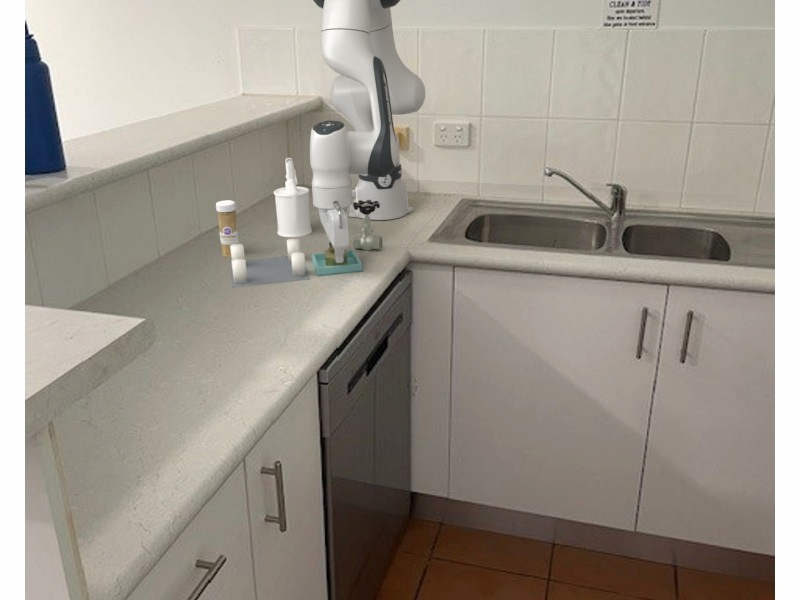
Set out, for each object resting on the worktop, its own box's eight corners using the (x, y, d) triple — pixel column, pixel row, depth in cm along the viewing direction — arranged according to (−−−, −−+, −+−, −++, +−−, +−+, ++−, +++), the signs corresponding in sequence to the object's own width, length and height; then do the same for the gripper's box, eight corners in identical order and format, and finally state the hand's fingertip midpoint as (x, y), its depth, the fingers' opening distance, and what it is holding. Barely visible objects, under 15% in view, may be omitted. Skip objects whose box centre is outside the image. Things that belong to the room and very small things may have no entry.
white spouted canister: (275, 229, 196) (268, 156, 188) (309, 226, 198) (303, 153, 190) (280, 241, 187) (273, 164, 179) (315, 237, 189) (310, 161, 181)
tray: (312, 262, 171) (311, 254, 171) (354, 258, 174) (353, 249, 173) (317, 277, 162) (317, 268, 161) (362, 272, 164) (361, 264, 164)
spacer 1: (232, 264, 170) (230, 244, 169) (245, 263, 171) (243, 243, 169) (232, 268, 168) (230, 248, 166) (245, 267, 168) (243, 246, 166)
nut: (324, 263, 169) (323, 248, 168) (345, 260, 170) (344, 246, 169) (327, 269, 165) (326, 254, 164) (348, 267, 166) (348, 252, 165)
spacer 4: (291, 273, 164) (290, 252, 162) (305, 271, 165) (303, 251, 163) (293, 277, 162) (291, 256, 160) (306, 276, 162) (305, 255, 160)
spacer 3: (287, 258, 173) (285, 238, 171) (300, 257, 174) (298, 237, 172) (288, 262, 171) (287, 242, 169) (301, 261, 171) (300, 241, 169)
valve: (378, 255, 175) (376, 207, 171) (351, 254, 177) (349, 206, 172) (384, 246, 181) (382, 200, 177) (358, 245, 183) (356, 199, 178)
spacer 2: (233, 279, 161) (231, 258, 159) (247, 278, 162) (245, 257, 160) (234, 284, 158) (231, 263, 156) (248, 283, 159) (245, 262, 157)
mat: (230, 262, 172) (230, 261, 172) (301, 255, 176) (301, 254, 176) (232, 288, 157) (232, 287, 157) (310, 280, 161) (310, 279, 161)
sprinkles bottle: (223, 259, 175) (216, 205, 169) (221, 253, 179) (214, 200, 173) (242, 257, 176) (236, 203, 171) (239, 251, 180) (233, 198, 175)
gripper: (354, 207, 153) (357, 268, 158) (339, 184, 171) (342, 240, 176) (325, 210, 151) (329, 271, 157) (312, 186, 170) (316, 242, 175)
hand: (336, 254), depth 167 cm, fingers open, 8 cm apart
